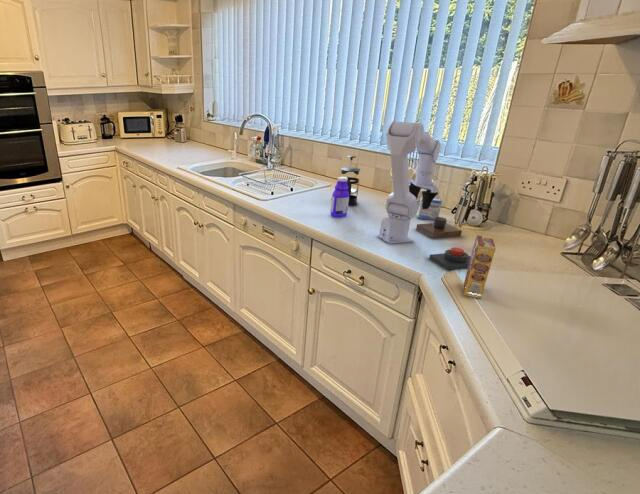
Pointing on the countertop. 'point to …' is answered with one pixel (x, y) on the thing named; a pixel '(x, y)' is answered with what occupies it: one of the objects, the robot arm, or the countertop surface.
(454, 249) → the switch button
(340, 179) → the bottle
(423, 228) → the panel
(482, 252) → the candy box
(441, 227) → the dimmer knob
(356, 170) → the french press
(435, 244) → the countertop surface
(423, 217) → the medicine box
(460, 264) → the switch block
